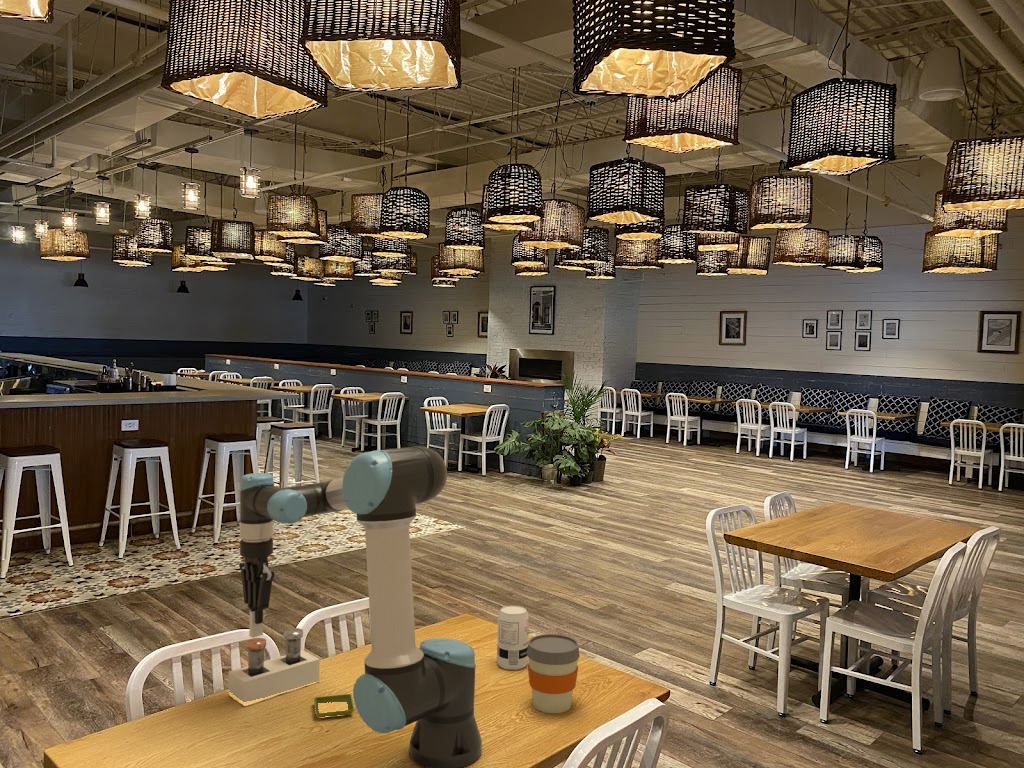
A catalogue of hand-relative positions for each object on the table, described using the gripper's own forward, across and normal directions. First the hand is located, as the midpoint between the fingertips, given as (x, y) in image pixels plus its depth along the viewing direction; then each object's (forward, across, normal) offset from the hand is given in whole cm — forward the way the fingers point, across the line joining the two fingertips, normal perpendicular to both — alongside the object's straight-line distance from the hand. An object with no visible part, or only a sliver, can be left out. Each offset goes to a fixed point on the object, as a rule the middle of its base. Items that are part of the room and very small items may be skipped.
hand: (256, 635), depth 192 cm
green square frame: (+15, -20, -9) cm, 26 cm away
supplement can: (+15, -29, -59) cm, 67 cm away
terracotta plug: (+10, 0, 0) cm, 10 cm away
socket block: (+15, 0, -5) cm, 16 cm away
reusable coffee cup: (+15, -52, -49) cm, 73 cm away
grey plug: (+10, 0, -10) cm, 14 cm away
